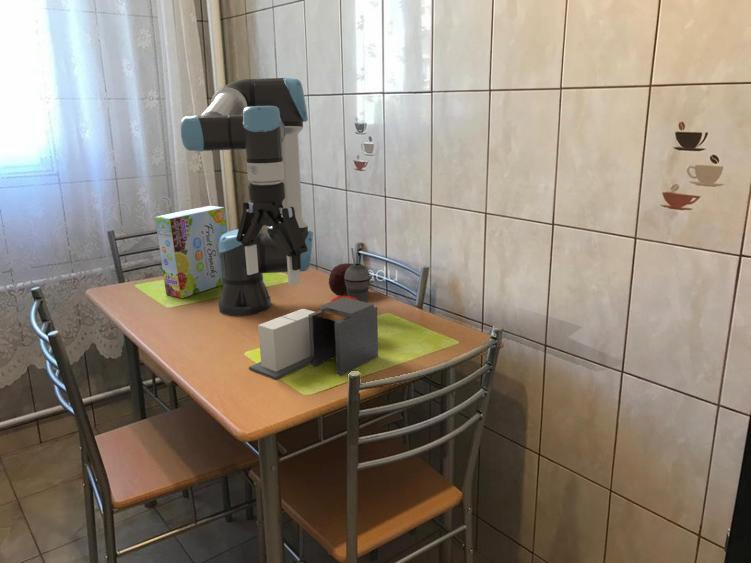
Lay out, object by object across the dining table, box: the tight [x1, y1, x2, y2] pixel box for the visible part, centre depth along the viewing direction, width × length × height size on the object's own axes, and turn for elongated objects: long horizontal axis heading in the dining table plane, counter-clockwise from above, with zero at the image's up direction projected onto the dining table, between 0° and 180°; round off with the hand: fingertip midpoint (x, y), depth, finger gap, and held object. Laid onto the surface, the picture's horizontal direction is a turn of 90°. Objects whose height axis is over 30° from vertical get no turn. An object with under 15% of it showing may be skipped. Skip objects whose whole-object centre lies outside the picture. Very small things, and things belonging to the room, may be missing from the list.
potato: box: [328, 262, 353, 297], centre depth 193 cm, size 11×13×10 cm
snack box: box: [154, 205, 228, 299], centre depth 201 cm, size 22×9×26 cm, turn 144°
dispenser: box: [308, 297, 379, 377], centre depth 144 cm, size 9×13×13 cm
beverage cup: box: [344, 247, 371, 303], centre depth 171 cm, size 7×7×20 cm
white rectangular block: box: [257, 308, 315, 372], centre depth 145 cm, size 5×14×10 cm, turn 141°
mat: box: [248, 356, 311, 380], centre depth 146 cm, size 9×16×1 cm, turn 141°
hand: (273, 278), depth 138 cm, fingers open, 13 cm apart
